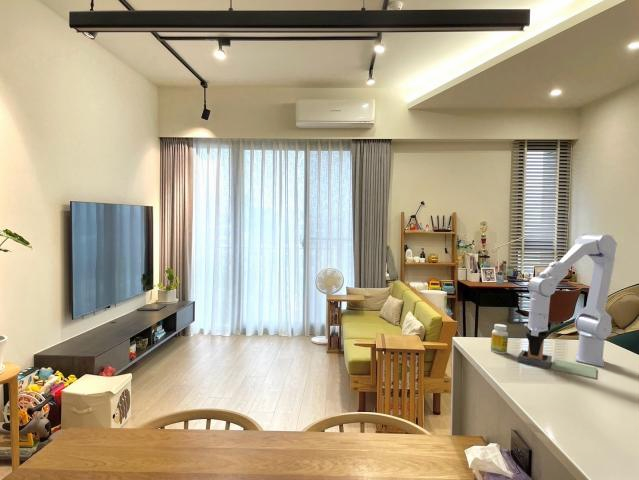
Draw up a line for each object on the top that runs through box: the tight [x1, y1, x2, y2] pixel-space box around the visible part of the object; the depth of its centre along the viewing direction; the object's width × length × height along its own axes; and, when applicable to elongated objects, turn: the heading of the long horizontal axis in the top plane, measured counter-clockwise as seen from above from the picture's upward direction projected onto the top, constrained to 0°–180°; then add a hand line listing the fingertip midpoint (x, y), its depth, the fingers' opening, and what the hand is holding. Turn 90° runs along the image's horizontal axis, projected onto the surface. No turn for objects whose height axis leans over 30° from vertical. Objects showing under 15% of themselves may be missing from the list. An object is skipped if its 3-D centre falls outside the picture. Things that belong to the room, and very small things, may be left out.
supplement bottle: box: [490, 323, 509, 355], centre depth 143 cm, size 5×5×10 cm
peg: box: [527, 339, 545, 360], centre depth 134 cm, size 4×4×8 cm
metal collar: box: [517, 349, 553, 370], centre depth 134 cm, size 9×9×2 cm
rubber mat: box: [550, 358, 597, 380], centre depth 129 cm, size 12×12×1 cm
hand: (535, 353), depth 134 cm, fingers open, 5 cm apart
